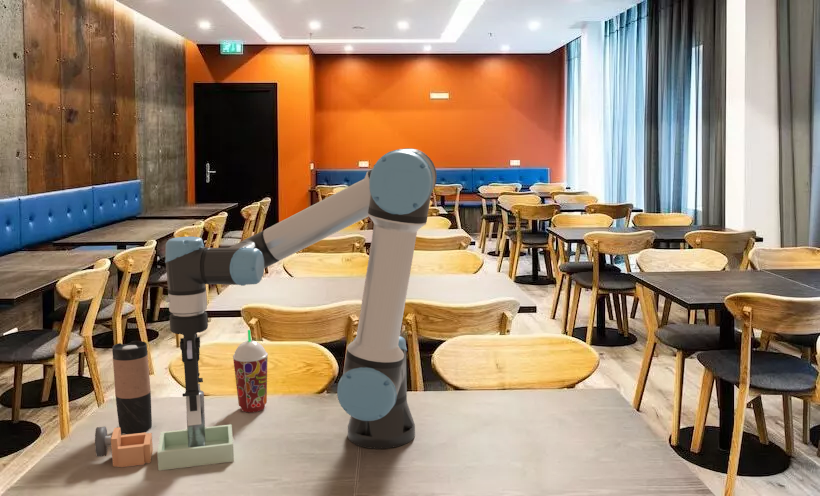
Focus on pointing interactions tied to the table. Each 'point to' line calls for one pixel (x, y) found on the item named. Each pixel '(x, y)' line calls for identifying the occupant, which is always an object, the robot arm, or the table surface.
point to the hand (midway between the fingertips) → (194, 418)
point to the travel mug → (132, 387)
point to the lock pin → (197, 428)
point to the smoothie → (251, 375)
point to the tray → (195, 448)
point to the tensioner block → (124, 447)
